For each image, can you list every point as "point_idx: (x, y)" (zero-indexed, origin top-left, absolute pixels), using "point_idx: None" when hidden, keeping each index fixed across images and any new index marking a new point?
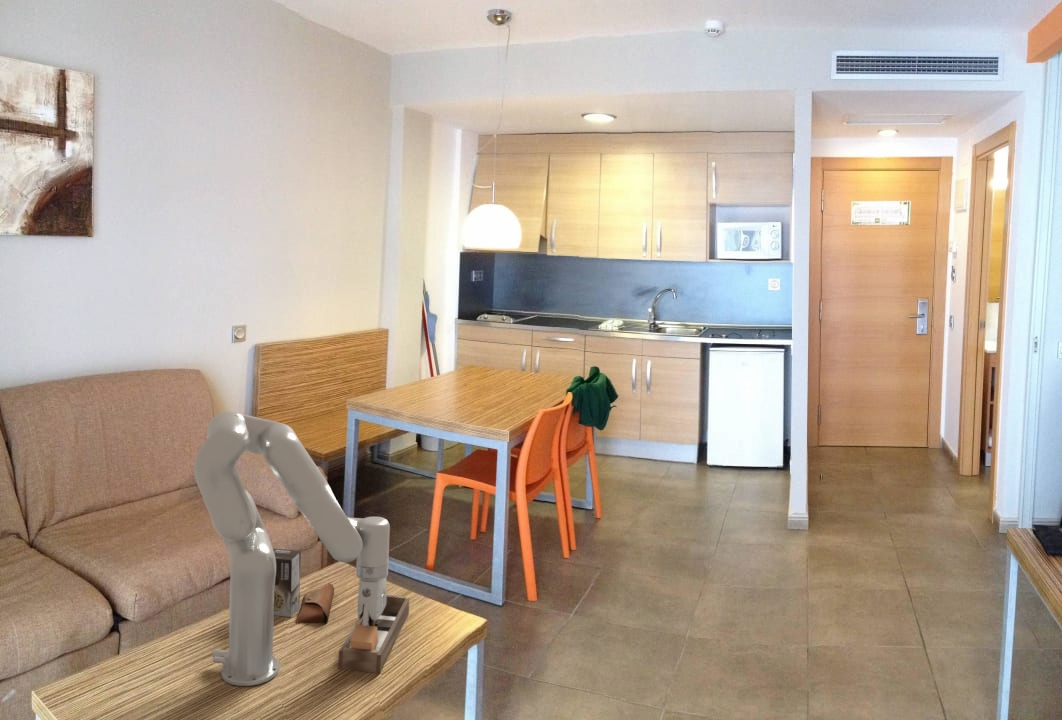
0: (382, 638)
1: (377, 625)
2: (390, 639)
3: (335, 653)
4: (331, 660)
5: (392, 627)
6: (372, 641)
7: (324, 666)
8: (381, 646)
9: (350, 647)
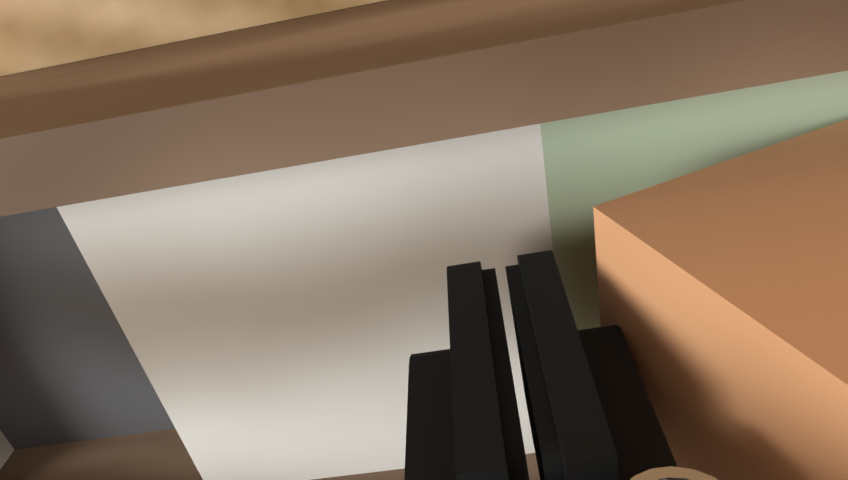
0: (284, 208)
1: (473, 444)
2: (369, 51)
3: None
4: None
5: (41, 179)
6: None
7: None
8: (833, 64)
9: None
